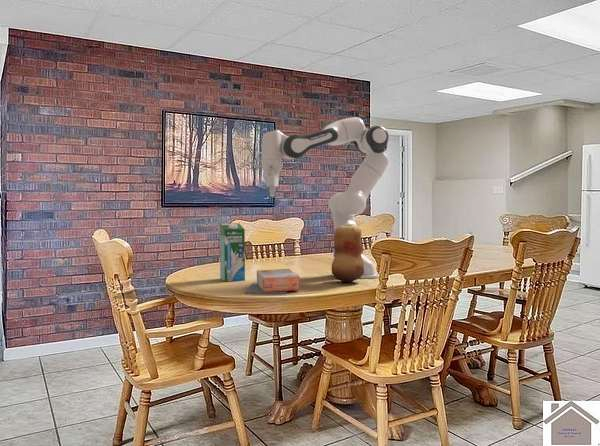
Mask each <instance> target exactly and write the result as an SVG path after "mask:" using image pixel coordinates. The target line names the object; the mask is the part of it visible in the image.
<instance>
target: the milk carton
mask: <svg viewBox="0 0 600 446" xmlns="http://www.w3.org/2000/svg"><path fill="white" fill-rule="evenodd" d="M245 233H246V231H245V228H244V227H243V226H242V224H240V223H239V222H237V223H236V222H235V223H226V222H225V223H219V260H220V261H219V262H220V263H219V264H220V265H219V267H220V268H219V272H220V273H219V274H220V275H219V277H220V280H221V281H223V282H240V281H242V280H243V281H246V248H245V247H246V246H245V245H246V243H245V242H246V241H245V240H246V238H245V235H246V234H245ZM243 281H242V282H243Z"/></svg>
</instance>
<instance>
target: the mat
mask: <svg viewBox="0 0 600 446" xmlns="http://www.w3.org/2000/svg"><path fill="white" fill-rule="evenodd" d="M287 293H288V291H274V292H264V291H263V290H262V289H261V287H260V286H259V285H258V284H257V282H253V283H251V284H250V285H249V287H248V288H246V289H245V291H243V294H258V295H260V294H261V295H266V294H267V295H269V294H271V295H272V294H273V295H278V294H279V295H286V294H287Z"/></svg>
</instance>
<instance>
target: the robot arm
mask: <svg viewBox="0 0 600 446" xmlns="http://www.w3.org/2000/svg"><path fill="white" fill-rule="evenodd" d="M389 136H390V135H389V132H388V130H387V129H386V128H385V127H383V126H381V125H373V126H371V127H370V128H367V126H365V123H364V121H363V120H362V119H361V118H360V117H357V116H355V117H354V116H353V117H348V118H347V117H346V118H343V119H339V120H336V121H334V122H331V123H329V124H328V125H325V127H324V128H323V129H322V130H320V131H317V132H313V133H309V134H307V135H302V134H292V135H290V136H288V135H286V134H284V133H283V132H281V131H280V130H279V129H272V130H268V131H265V132H264V134H263V136H262V139H261V140H262V141H261V151H262V158H261V163H262V164H261V167H262V168H261V169H262V171H264V174H265V186H266V187H268V189H269V197H270V198H274V197H275V195H276V194H275V193H276V188H279V183H280V182H279V181H280V172H281V171H282V170H283V167H282V165H283V164H282V163H283V160H282V159H286V160H294V159H298V158H299V159H300V158H301V157H303V156H304V155H305V154H306V153H307V152H309V151H311V150H313V149H315V148H316V149H317V148H318V147H322V146H326V145H327V146H328V145H329V146H332V147H337V146H341V145H344V144H348V143H350V142H351V143H352V142H353V144H354V145H355V148H356V149H357V151H358V152H359V153H360V154H362V155H365V158H364V160H363V161H362V163H360V165H359V167H358V168H357V169H356V171H355V172H354V173H353V175H352V176H351V178H350V183H349V185H348V187H347V189H346V190H345V191H342V192H341V191H339V192H337V193H334V194H333V195H332V196H331V197H330V198H329V200H328V208H329V211H330V213H331V216H332V217H331V218H332V220H333V221H332V222H333V227H334V231H335V230H336V228H337V227H338V226H340V225H344V224H355V225H357V222H356V218H355V216H358V215H361V214H362V213H364V211H365V210H366V207H367V200H368V199H369V196H370V194H371V192H372V190H373V189H374V187H375V186H376V185H377V183H378V182H379V180H381V177H382V176H383V175H384V173H385V171H386V169H387V168H388V165H389V163H390V159H389V156H388V155H387V154H386V153H385V151H387V148H388V141H389ZM364 251H365V248H364V247H363V246H362V251H361V256H362V259H363V263H364V274H363V275H362V276H361V277H360V278H359V279H376V278H377V279H378V278H379V277H378V275H377V272H378V271H376V267H375V263H374V262H373V261H372V259H370V258H369V257H368V256H366V255H365V254H363V252H364ZM334 257H335V245H333V258H334ZM330 276H332V277H334V275H333V274H332V273H331V274H330Z"/></svg>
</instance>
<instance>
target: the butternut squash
mask: <svg viewBox="0 0 600 446" xmlns="http://www.w3.org/2000/svg"><path fill="white" fill-rule="evenodd" d="M333 239H334V240H333V243H334V245H335V257H334V256H333V260H332V261H331V262H332V263H331V274H333V275H334V276H333V277H334V278H335V279H336V280H338V281H341V282H343V283H353V282H354V281H357V280H359V279H361V278H360V277H361V276H362V275H363V274H364V263H363V259H362V256H361V251H362V247H363V245H362V230H361V228H360V226H359V225H357V224H356V225H355V224H344V225H340V226H338V227H337V228H336V230H335V229H334V238H333ZM334 245H333V246H334Z"/></svg>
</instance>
